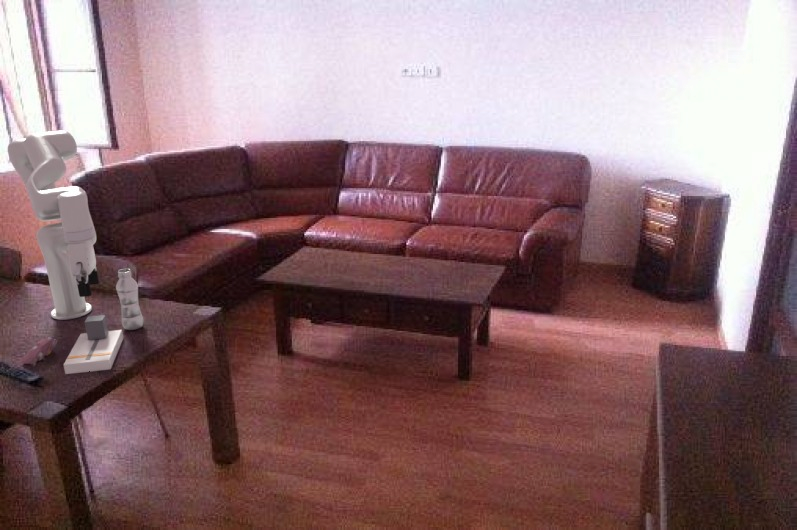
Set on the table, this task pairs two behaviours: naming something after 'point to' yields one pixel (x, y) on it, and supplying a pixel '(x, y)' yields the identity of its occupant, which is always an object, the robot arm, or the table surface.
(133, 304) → the plastic bottle
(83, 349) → the fader console
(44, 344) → the pink toy car
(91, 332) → the fader tab
